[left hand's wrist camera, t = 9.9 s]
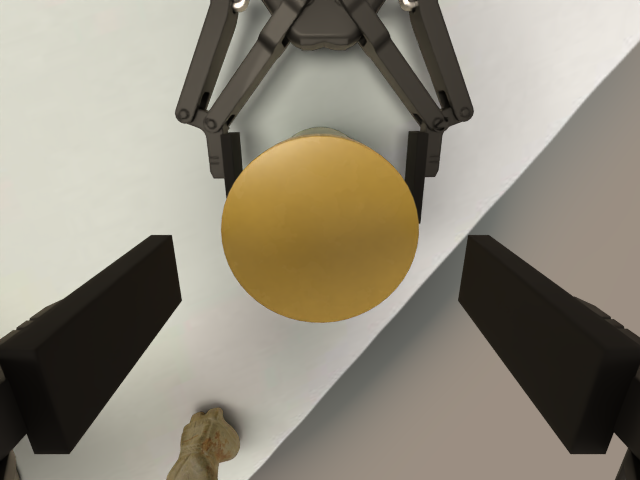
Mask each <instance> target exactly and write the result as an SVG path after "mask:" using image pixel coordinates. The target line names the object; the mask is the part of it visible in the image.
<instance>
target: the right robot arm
mask: <svg viewBox="0 0 640 480" xmlns="http://www.w3.org/2000/svg"><path fill="white" fill-rule="evenodd" d="M249 1H250V0H210V6H209V9H208V12H207V16H206V19H205V22H204V25H203V28H202V31H201V34H200V37H199V40H198V43H197V46H196V49H195V52H194V55H193V58H192V61H191V64H190V67H189V71H188V74H187V77H186V80H185V83H184V86H183V89H182V92H181V95H180V98H179V101H178V104H177V107H176V110H175V115H176V118H177V119H178V121H180V122H181V123H184V124H186V123H187V124H189V125H192V126H195V127H198V128H200V129H201V130H203V132H204V133H205V135H206V138H207V146H208V155H209V163H210V172H211V174H212V176H213V178H225V188H226V198H227V197H228V194H229V192H230V190H231V188H232V186H233V184H234V182H235V181H236V179H237V178H238V177H239V175H240V174H241V172H242V171H243V169H242V157H241V144H240V132H229V133H228V129H229V126H230V124H231V123H232V121H233V120H234V119H235V117H236V116H237V114H238V113H239V112H240V110H241V109H242V107H243V106H244V105H245V103H246V102H247V100H248V99H249V98H250V96H251V95H252V93H253V92H254V91H255V89H256V88H257V86H258V85H259V84H260V82H261V81H262V79H263V78H264V76H265V75H266V74H267V72H268V71H269V69H270V68H271V67H272V65H273V64H274V62H275V61H276V60H277V58H279V57H280V56H281V55H282V53H283V52H284V50H285V49H286V48H287V46H288V45H289V43H290V42H291V43H292V44H293V45H294V46H296V47H298V48H300V49H301V50H302V51H304V50H316V49H319V48H322V47H326V48H329V49H333V50H346V49H347V48H349V47H352V46H353V45H355V44H356V43H357V42H358V44H359V45H360V46H361V48H362V49H363V50H364V52H365V53H366V54H367V55H368V56H369V57H370V58H371V59H372V61H373V62H374V63H375V65H376V66H377V67H378V69H379V70H380V72H381V73H382V74H383V76H384V77H385V79H386V80H387V81H388V83H389V84H390V85H391V87H392V88H393V90H394V91H395V92H396V94H397V95H398V97H399V98H400V99H401V101H402V102H403V103H404V105H405V106H406V108H407V109H408V110H409V112H410V113H411V115H412V116H413V117H414V119H415V120H416V121H417V123H418V124H419V126H420V127H421V128H420V131H409V133H408V146H407V159H406V172H405V182H406V184H407V186H408V188H409V190H410V192H411V194H412V196H413V199H414V202H415V206H416V209H417V215H418V221H419V224H420V221H421V210H422V200H423V190H424V179H425V177H435V176H436V174H437V172H438V170H439V161H440V152H441V143H442V135H443V133H444V131H446V130H447V129H448V127H450V126H452V125H454V124H457V123H460V122H465V121H468V120H469V119H471V117H472V116H473V113H474V110H473V106H472V103H471V100H470V97H469V94H468V91H467V88H466V85H465V82H464V79H463V76H462V73H461V70H460V67H459V64H458V61H457V58H456V55H455V52H454V49H453V46H452V43H451V40H450V37H449V34H448V31H447V28H446V25H445V22H444V19H443V16H442V13H441V10H440V7H439V4H438V0H399V4H400V7H401V8H402V9H403V10H405V11H409V15H410V20H411V24H412V27H413V30H414V33H415V36H416V39H417V42H418V44H419V47H420V50H421V53H422V55H423V58H424V61H425V64H426V66H427V69H428V72H429V75H430V77H431V80H432V83H433V86H434V88H435V91H436V94H437V97H438V99H439V102H440V105H441V109H439V108H438V106H437V105H436V103H435V102H434V100H433V99H432V98H431V96H430V95H429V93H428V92H427V90H426V89H425V87H424V86H423V85H422V83H421V82H420V80H419V79H418V77H417V76H416V74H415V73H414V72H413V70H412V69H411V67H410V66H409V64H408V63H407V61H406V60H405V59H404V57H403V56H402V54H401V53H400V51H399V50H398V48H397V47H396V46H395V44H394V43H393V41H392V40H391V38H390V34H389V32H388V30H387V29H386V27H385V26H384V24H383V23H382V22H381V20H380V19H379V17H378V16H377V12H378V11H379V9H380V8H381V6H382V5H383V3H384V2H385V0H262V1H263V3H264V4H265V6H266V7H267V9H268V10H269V12H270V13H271V15H272V16H271V17H270V19H269V20H268V22H267V23H266V25H265V26H264V28H263V29H262V31H261V32H260V34H259V37H258V40H257V42H256V43H255V45H254V46H253V47H252V49H251V50H250V52H249V53H248V55H247V56H246V58H245V59H244V61H243V62H242V64H241V65H240V67H239V68H238V69H237V71H236V72H235V74H234V75H233V77H232V78H231V80H230V81H229V83H228V84H227V86H226V87H225V89H224V90H223V91H222V93H221V94H220V96H219V97H218V99H217V100H216V102H215V103H214V105H213V106H212V108H211V109H210V110H209V111H208V110H206V109H207V107H208V104H209V101H210V98H211V95H212V93H213V90H214V87H215V84H216V81H217V78H218V76H219V73H220V70H221V67H222V64H223V62H224V59H225V56H226V53H227V50H228V48H229V45H230V42H231V39H232V36H233V33H234V31H235V27H236V24H237V19H238V12H243V11H245V10H246V9H247V7H248V4H249Z"/></svg>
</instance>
